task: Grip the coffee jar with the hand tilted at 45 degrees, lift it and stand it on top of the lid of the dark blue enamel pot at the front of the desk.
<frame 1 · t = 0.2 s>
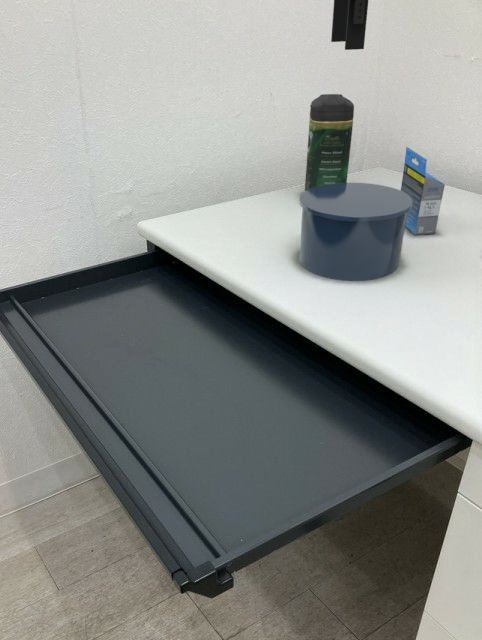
hand: (346, 45, 95), 27 cm above the table, tool pointing down, fingers open, 13 cm apart
coffee jar: (324, 198, 117), on the table
pot: (348, 260, 92), on the table
tape cartridge: (414, 227, 103), on the table
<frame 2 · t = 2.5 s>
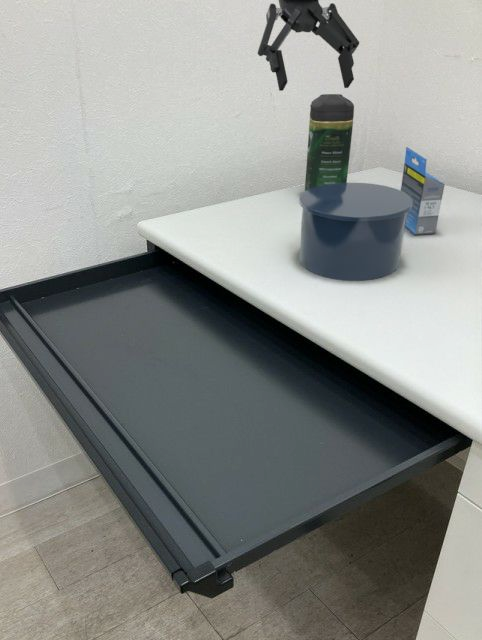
hand: (316, 85, 114), 19 cm above the table, tool tilted 40°, fingers open, 13 cm apart
nothing on the table moved.
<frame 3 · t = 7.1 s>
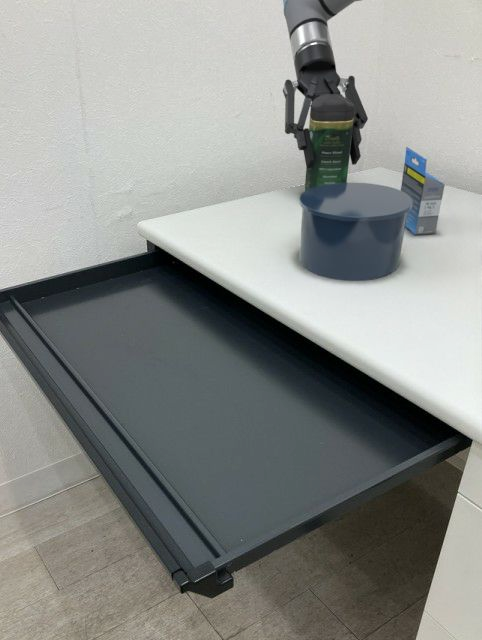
hand: (333, 162, 110), 8 cm above the table, tool tilted 45°, fingers closed on coffee jar, 8 cm apart
coffee jar: (324, 198, 117), on the table, touching gripper
everything else where it was.
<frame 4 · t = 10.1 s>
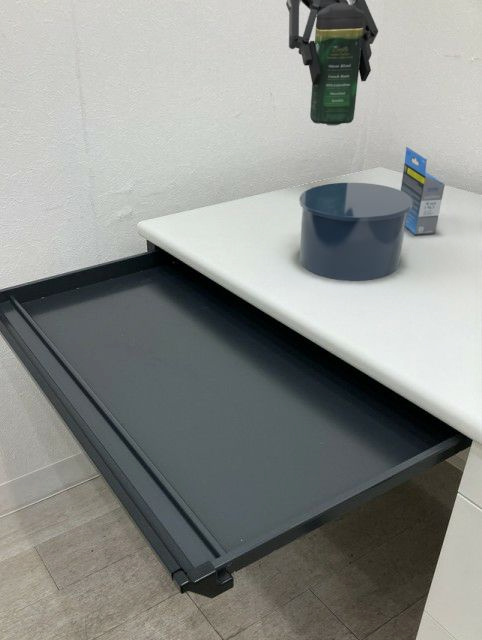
hand: (341, 77, 102), 22 cm above the table, tool tilted 45°, fingers closed on coffee jar, 8 cm apart
coffee jar: (331, 122, 109), point 14 cm above the table, touching gripper
everything else where it was.
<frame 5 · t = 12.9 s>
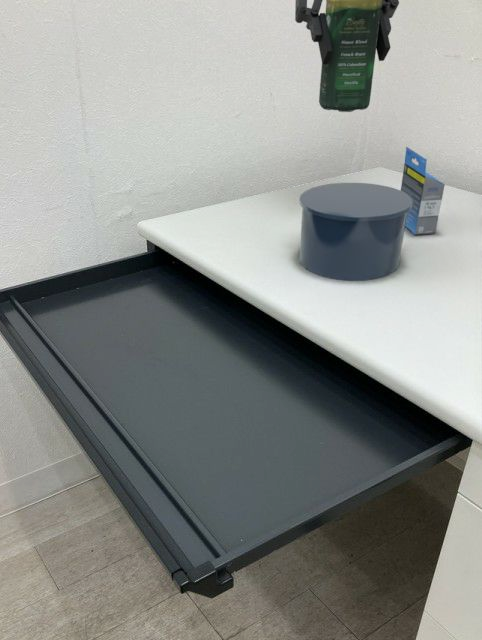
hand: (356, 56, 88), 27 cm above the table, tool tilted 45°, fingers closed on coffee jar, 8 cm apart
coffee jar: (343, 109, 95), point 19 cm above the table, touching gripper
everything else where it was.
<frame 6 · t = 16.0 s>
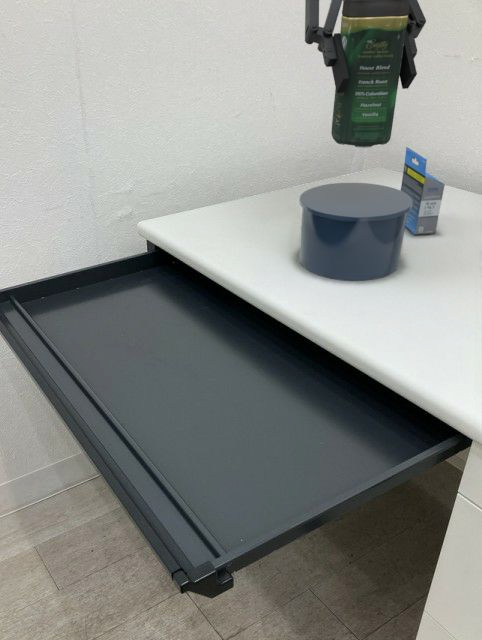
hand: (376, 83, 75), 25 cm above the table, tool tilted 45°, fingers closed on coffee jar, 8 cm apart
coffee jar: (359, 142, 82), point 17 cm above the table, touching gripper
everything else where it was.
when the fingers open (17 cm above the table, at t = 18.7 s): coffee jar stays where it is, resting on pot.
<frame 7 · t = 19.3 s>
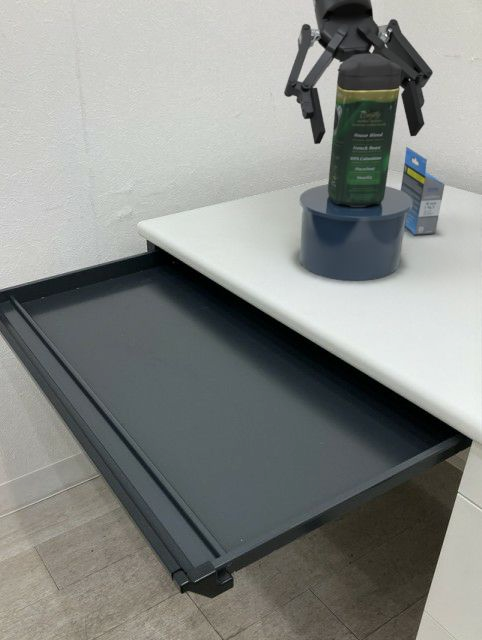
hand: (369, 134, 79), 19 cm above the table, tool tilted 45°, fingers open, 13 cm apart
coffee jar: (355, 199, 86), point 9 cm above the table, touching pot
everything else where it was.
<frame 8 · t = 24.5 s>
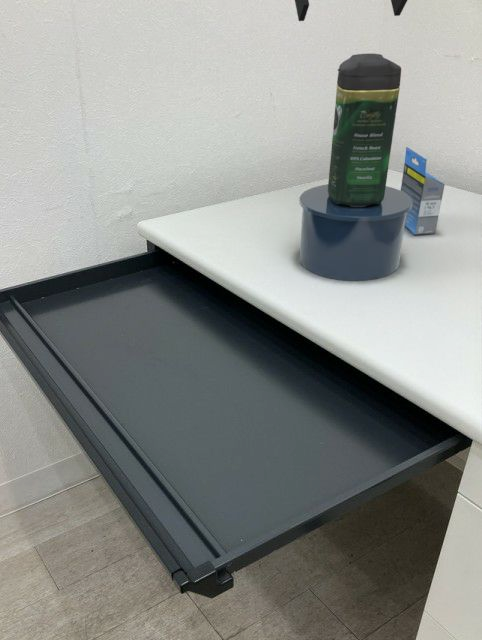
hand: (353, 10, 80), 33 cm above the table, tool tilted 45°, fingers open, 13 cm apart
nothing on the table moved.
at the end: coffee jar inside the target area on the pot (0.1 cm from its centre), point 9.4 cm above the pot's base; coffee jar tilted 0°; the gripper is holding nothing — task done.
